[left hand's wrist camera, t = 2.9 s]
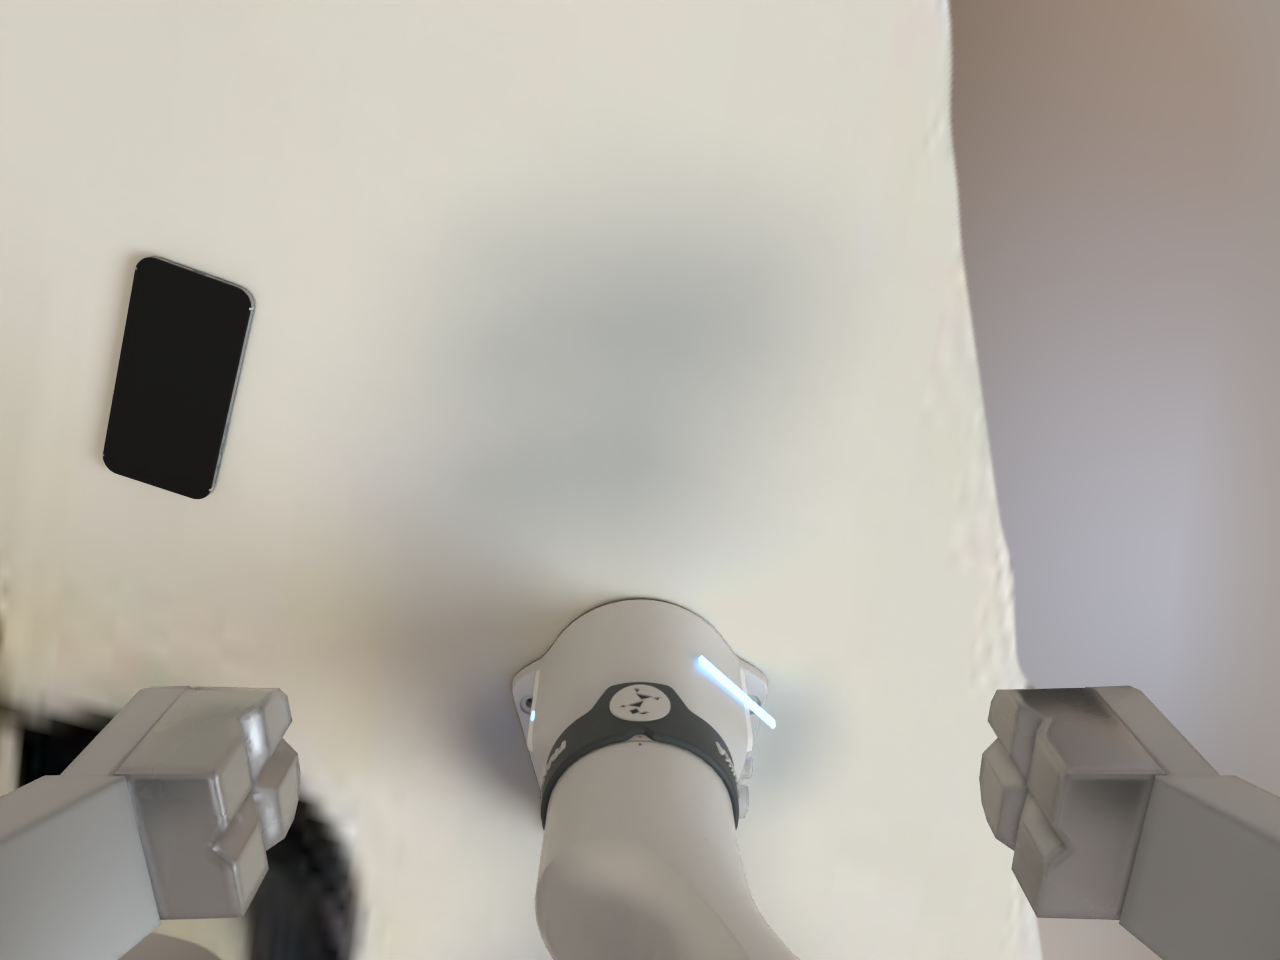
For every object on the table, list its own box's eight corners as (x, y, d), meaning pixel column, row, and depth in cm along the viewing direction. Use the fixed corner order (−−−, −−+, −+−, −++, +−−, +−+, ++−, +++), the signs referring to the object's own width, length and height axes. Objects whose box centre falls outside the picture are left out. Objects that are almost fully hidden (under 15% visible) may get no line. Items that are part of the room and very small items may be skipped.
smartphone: (254, 293, 55) (208, 504, 60) (259, 292, 56) (212, 500, 61) (136, 251, 54) (99, 468, 59) (142, 250, 55) (104, 465, 60)
